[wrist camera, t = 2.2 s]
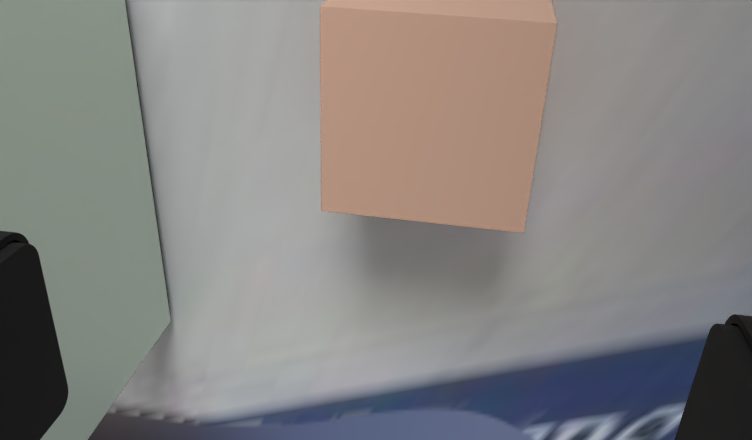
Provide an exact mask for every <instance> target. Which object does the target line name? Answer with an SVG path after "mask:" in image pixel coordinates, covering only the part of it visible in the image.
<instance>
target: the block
mask: <svg viewBox="0 0 752 440" xmlns="http://www.w3.org/2000/svg"><path fill="white" fill-rule="evenodd" d="M556 29H557V20H556V16H555V12H554V8H553V5H552V1H551V0H327V1H325V2H324V3H323V4H322V5H321V6H320V73H321V209H322V211H327V212H336V213H345V214H354V215H363V216H372V217H381V218H390V219H400V220H409V221H418V222H427V223H436V224H445V225H454V226H463V227H473V228H482V229H491V230H500V231H509V232H518V233H524V230H525V224H526V218H527V211H528V205H529V199H530V192H531V186H532V180H533V174H534V167H535V161H536V155H537V148H538V142H539V136H540V130H541V123H542V117H543V111H544V104H545V98H546V92H547V86H548V79H549V73H550V67H551V60H552V54H553V48H554V42H555V35H556Z"/></svg>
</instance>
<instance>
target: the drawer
mask: <svg viewBox="0 0 752 440" xmlns="http://www.w3.org/2000/svg"><path fill="white" fill-rule="evenodd" d="M0 231H7V232H16V233H20V234H22V235H24V236H25V237H26V239H27V240H28V242H29V244H31V245H33V246H34V247H35V248H36V249H37V251H38V254H39V258H40V262H41V267H42V271H43V276H44V280H45V285H46V289H47V294H48V298H49V303H50V307H51V312H52V316H53V321H54V325H55V330H56V334H57V339H58V343H59V348H60V352H61V357H62V361H63V366H64V370H65V375H66V379H67V384H68V399H67V402H66V405H65V407H64V410H63V411H62V413H61V414H60V416H59V417H58V418H57V419H56V421H55V422H54V423H53V424H52V426H51V427H50V428H49V429H48V431H47V432H46V433H45V434H44V436H43V437H42V438H41V439H40V440H88V438H89V437H90V435H91V434H92V433H93V431H94V430H95V428H96V427H97V425H98V424H99V422H100V421H101V420H102V418H103V417H104V415H105V414H106V413H107V411H108V410H109V408H110V407H111V406H112V404H113V403H114V401H115V400H116V398H117V397H118V396H119V394H120V393H121V391H122V390H123V388H124V387H125V386H126V384H127V383H128V381H129V380H130V379H131V377H132V376H133V374H134V373H135V371H136V370H137V369H138V367H139V366H140V364H141V363H142V361H143V360H144V359H145V357H146V356H147V354H148V353H149V352H150V350H151V349H152V347H153V346H154V344H155V343H156V342H157V340H158V339H159V337H160V336H161V334H162V333H163V332H164V330H165V329H166V327H167V326H168V325H169V323H170V322H171V320H170V313H169V306H168V299H167V292H166V285H165V278H164V271H163V264H162V257H161V250H160V243H159V236H158V229H157V222H156V215H155V208H154V201H153V194H152V187H151V180H150V173H149V166H148V159H147V152H146V145H145V138H144V131H143V124H142V117H141V110H140V103H139V96H138V89H137V82H136V75H135V68H134V61H133V54H132V47H131V40H130V33H129V26H128V19H127V12H126V5H125V0H0Z"/></svg>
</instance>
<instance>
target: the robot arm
mask: <svg viewBox="0 0 752 440" xmlns="http://www.w3.org/2000/svg"><path fill="white" fill-rule="evenodd" d="M67 399H68V384H67V379H66V375H65V370H64V366H63V361H62V357H61V352H60V348H59V343H58V339H57V334H56V330H55V325H54V321H53V316H52V312H51V307H50V303H49V298H48V294H47V289H46V285H45V280H44V276H43V271H42V267H41V262H40V258H39V254H38V251H37V249H36V248H35V247H34V246H33V245H31V244H29V242H28V240H27V239H26V237H25V236H24V235H22V234H20V233H16V232H7V231H0V440H40V439H41V438H42V437H43V436H44V434H45V433H46V432H47V431H48V429H49V428H50V427H51V426H52V424H53V423H54V422H55V421H56V419H57V418H58V417H59V416H60V414H61V413H62V411H63V410H64V407H65V405H66V402H67ZM675 440H752V316H744V315H735V314H734V315H732V316H730V317H729V318H728V320H727V321H726V323H725V325H724V324H715V325H713V326H712V328H711V329H710V332H709V334H708V337H707V340H706V344H705V347H704V350H703V353H702V356H701V359H700V362H699V365H698V368H697V372H696V375H695V378H694V381H693V384H692V387H691V390H690V393H689V397H688V400H687V403H686V406H685V409H684V412H683V415H682V418H681V422H680V425H679V428H678V431H677V434H676V437H675Z"/></svg>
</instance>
